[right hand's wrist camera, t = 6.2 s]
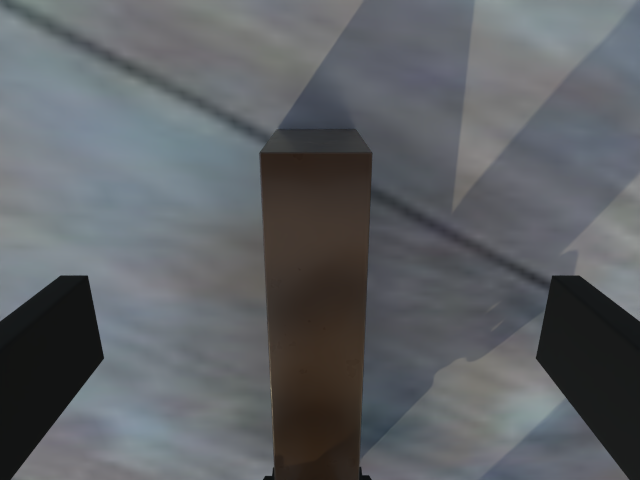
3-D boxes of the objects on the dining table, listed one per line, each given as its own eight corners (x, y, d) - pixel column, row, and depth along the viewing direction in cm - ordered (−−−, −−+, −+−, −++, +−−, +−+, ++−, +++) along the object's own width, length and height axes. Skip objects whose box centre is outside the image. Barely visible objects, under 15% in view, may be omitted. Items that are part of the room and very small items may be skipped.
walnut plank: (276, 129, 25) (259, 152, 18) (356, 128, 25) (372, 152, 18) (288, 474, 34) (279, 587, 27) (346, 474, 34) (354, 586, 27)
